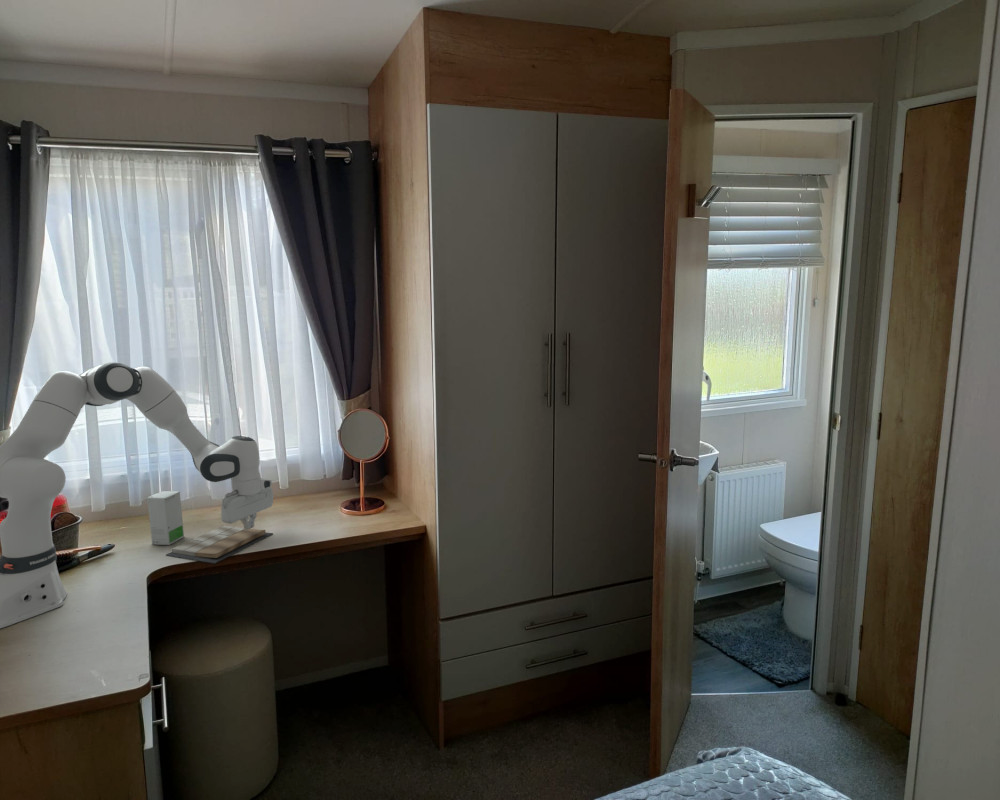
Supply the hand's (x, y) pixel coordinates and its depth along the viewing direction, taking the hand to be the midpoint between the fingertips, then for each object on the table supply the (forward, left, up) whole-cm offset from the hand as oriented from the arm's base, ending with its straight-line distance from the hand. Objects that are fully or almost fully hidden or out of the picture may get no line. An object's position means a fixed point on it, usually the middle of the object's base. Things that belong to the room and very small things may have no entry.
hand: (249, 528), depth 230 cm
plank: (-6, +1, -3) cm, 7 cm away
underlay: (-6, +6, -4) cm, 10 cm away
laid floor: (-6, +10, -4) cm, 13 cm away
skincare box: (-9, +25, -4) cm, 27 cm away
